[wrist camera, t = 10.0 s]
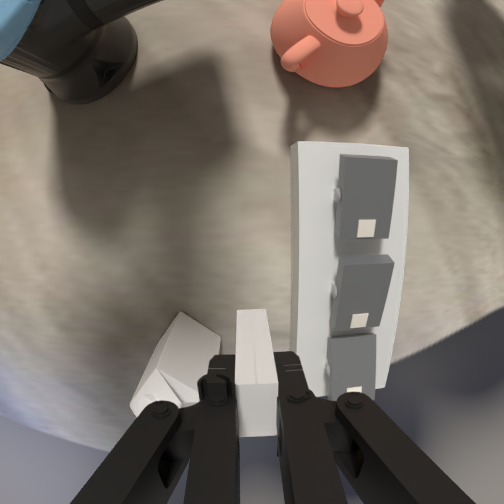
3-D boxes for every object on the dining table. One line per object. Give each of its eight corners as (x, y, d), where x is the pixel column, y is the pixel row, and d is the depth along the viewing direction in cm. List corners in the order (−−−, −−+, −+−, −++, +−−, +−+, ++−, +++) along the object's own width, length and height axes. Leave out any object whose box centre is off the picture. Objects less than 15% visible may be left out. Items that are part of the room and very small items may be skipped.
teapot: (331, -26, 33) (353, -70, 21) (406, 36, 36) (447, 6, 24) (233, 54, 37) (230, 13, 25) (319, 126, 39) (348, 108, 28)
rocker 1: (336, 153, 32) (343, 157, 30) (389, 156, 33) (400, 160, 30) (331, 231, 36) (338, 240, 34) (381, 230, 36) (390, 239, 34)
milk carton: (221, 336, 46) (211, 426, 27) (196, 367, 47) (177, 458, 29) (180, 309, 45) (146, 390, 26) (157, 343, 46) (118, 427, 27)
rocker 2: (325, 336, 40) (330, 339, 37) (370, 332, 40) (378, 334, 38) (325, 400, 39) (330, 406, 36) (369, 394, 39) (376, 400, 37)
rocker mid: (336, 254, 35) (342, 266, 32) (387, 252, 35) (396, 263, 33) (327, 317, 39) (332, 331, 37) (374, 313, 39) (381, 326, 37)
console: (290, 146, 40) (299, 140, 33) (392, 150, 40) (416, 147, 33) (288, 375, 48) (295, 403, 41) (375, 366, 48) (390, 390, 41)
